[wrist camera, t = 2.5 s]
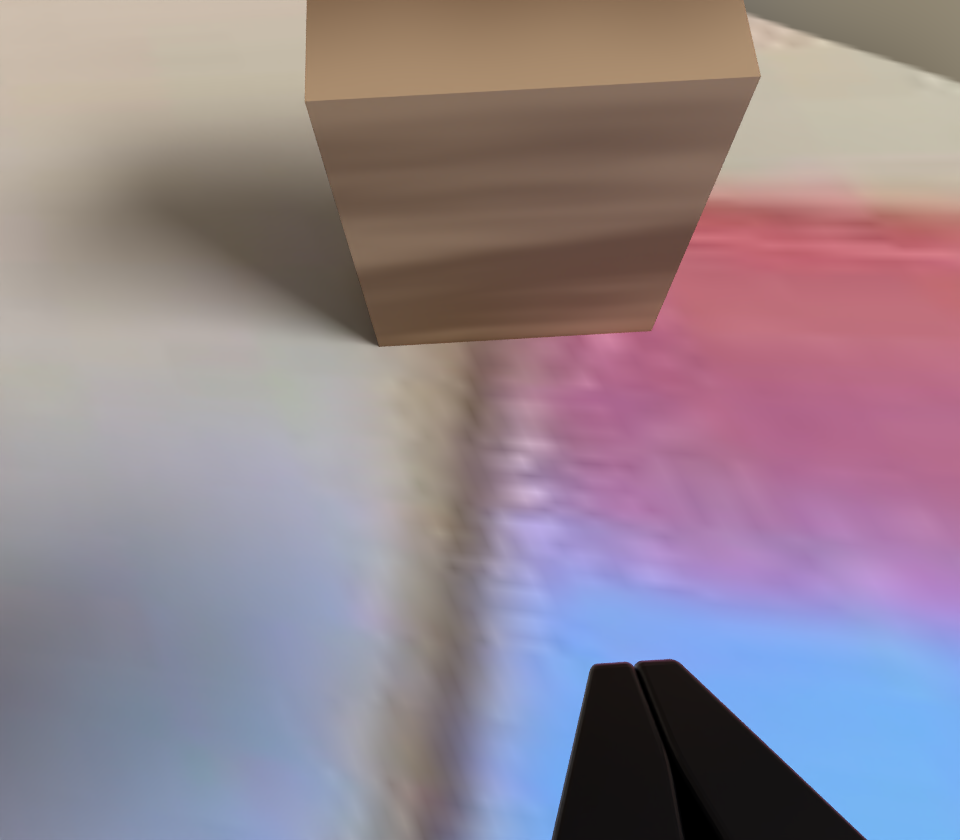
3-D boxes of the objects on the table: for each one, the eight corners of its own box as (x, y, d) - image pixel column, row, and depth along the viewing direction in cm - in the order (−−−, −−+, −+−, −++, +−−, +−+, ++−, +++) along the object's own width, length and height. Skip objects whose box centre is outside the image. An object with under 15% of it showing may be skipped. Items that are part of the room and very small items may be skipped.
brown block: (651, 330, 23) (760, 76, 14) (378, 346, 23) (305, 101, 14) (636, 234, 24) (729, -61, 15) (377, 249, 24) (307, -39, 15)
